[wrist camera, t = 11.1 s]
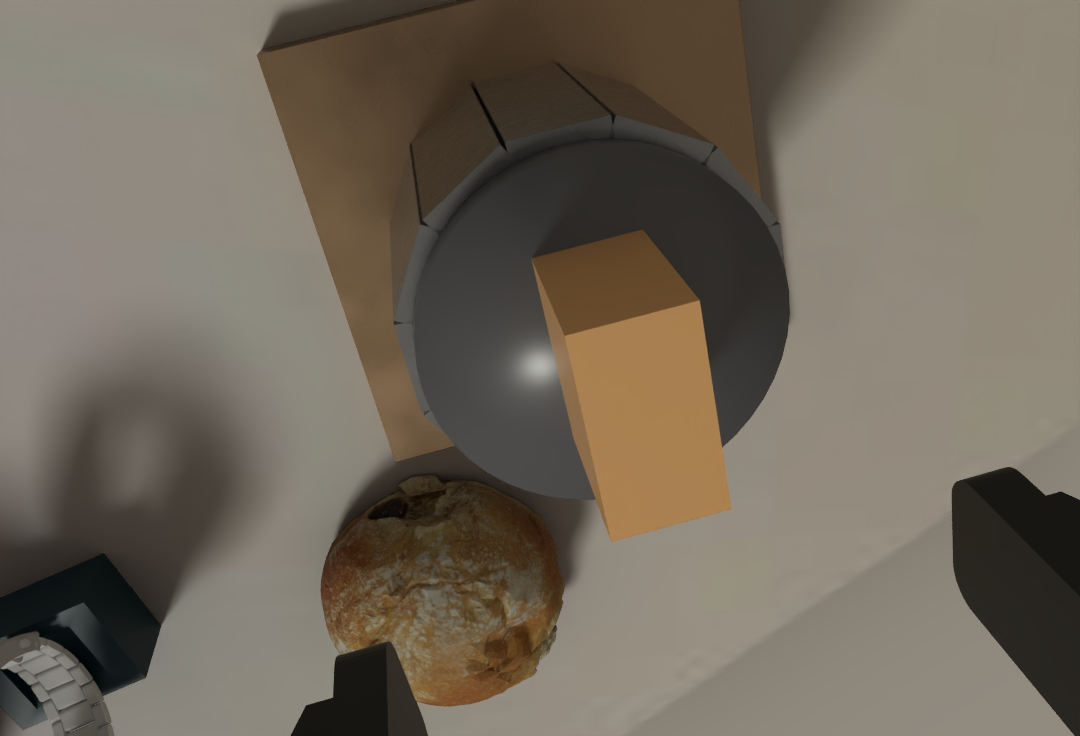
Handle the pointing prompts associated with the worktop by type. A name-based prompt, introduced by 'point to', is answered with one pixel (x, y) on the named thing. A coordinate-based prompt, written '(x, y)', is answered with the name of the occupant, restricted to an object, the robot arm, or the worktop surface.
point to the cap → (603, 329)
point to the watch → (72, 647)
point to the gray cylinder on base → (486, 136)
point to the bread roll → (447, 588)
